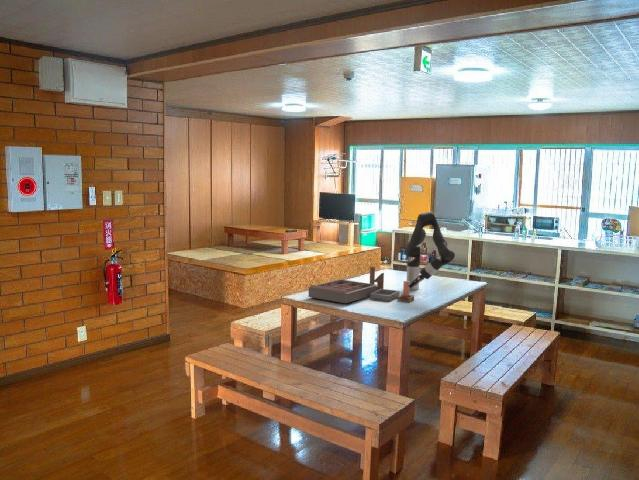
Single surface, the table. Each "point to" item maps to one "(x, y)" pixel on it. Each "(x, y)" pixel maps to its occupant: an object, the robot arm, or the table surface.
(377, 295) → the tray
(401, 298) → the dowel collar
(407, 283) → the dowel
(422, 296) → the table surface
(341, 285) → the organizer tray
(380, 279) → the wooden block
